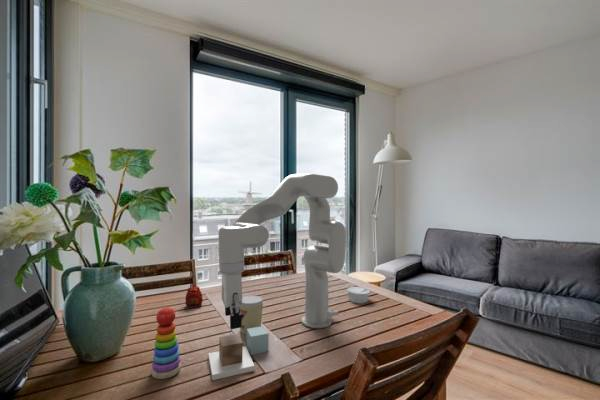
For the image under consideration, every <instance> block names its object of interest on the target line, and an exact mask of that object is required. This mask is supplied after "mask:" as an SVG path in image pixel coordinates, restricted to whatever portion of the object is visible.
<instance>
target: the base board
mask: <svg viewBox="0 0 600 400" xmlns="http://www.w3.org/2000/svg"><path fill="white" fill-rule="evenodd" d="M208 363H209V364H208V365H209V368H210V375H211V381H216V380H219V379H220V380H221V379H223V378H224V379H225V378H228V377H232V376H237V375H241V374H245V373H250V372H254V371H255V364H254V362H253V359H252V357H251V354H250V352H249V350H248V348H247V345H245V346H243V354H242V362H241V363H237V364H232V365H228V366H223V367H222V364H221V361H220V357H219V350H218V351H213V352H208Z"/></svg>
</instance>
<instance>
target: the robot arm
mask: <svg viewBox="0 0 600 400" xmlns="http://www.w3.org/2000/svg"><path fill="white" fill-rule="evenodd" d="M338 190H339V184H338V181H337V180H336V179H335V178H334V177H333V176H329V175H323V174H318V173H317V174H316V173H307V172H306V173H293V174H289V175H288V176H286V177H284V179H283V180H282V181H281V182H280V183H279V184H278V185H277V187H276V188H275V189H274V190H273V191H272V192H271V193H270V194H269V196H267V197H266V198H265V199H263V200H261V201H259V202H258V203H257V204H254V205H253V206H252V207H249V209H247V210H246V211H245V212H243V213H242V214H241V215H240V216H239V217H238V219H236V221H234V223H233V224H232V225H227V226H222V227H220V228H219V230H218V267H219V268H218V272H219V274H221V301H222V304H223V305H224V311H225V312H224V314H225V316H227V317H228V316H229V328H230V329H231V330H234V329H235V330H236V329H240V328H241V326H242V324H241V309H240V306H241V304H242V297H243V285H242V284H243V283H242V281H243V279H242V273H243V272H245V249H254V248H255V249H256V248H260V247H264V246H265V245H266V244H267V242H268V240H269V238H270V237H269V236H270V233H269V230H268V228H266V227H265V226H264V225H262V223H264V222H265V223H266V222H267V221H269V220H274V219H277V218H279V217H282V216H284V215H286V214H287V212H288V211H289V210H290V209H291V207H292V206H293V205H294V204H295V202H297V201H298V199H299V198H301V197H304V199H305V201H306V202H307V204H308V207H309V218H308V219H309V220H308V221H309V223H308V238H309V239H310V241H312V242H314V243H319V244H324V245H325V244H326V245H328V247H327V246H323V245H310V246H308V247H306V249H305V250H304V252H303V256H302V257H303V259H302V260H303V265H304V266H303V267H304V271H305V287H304V288H305V292H304V293H305V294H304V295H305V297H304V301H305V302H304V306H305V307H304V315H303V316H301V320H300V321H301V324H302V325H303V326H306V327H308V328H311V329H324V328H328V327H330V326H331V325H332V322H333V320H332V317H336V316H339V311H338V310H334V311H333V309H329V281H330V280H329V276H328V273H332V274H337V273H340V272H341V271H342V270H343V268H344V266H345V261H346V246H347V244H346V243H347V231H346V228H345V226H344V224H343V223H342V222H341V221H338V220H331V205H330V203H329V202H328V200H327V199H332V198H334V197H335V196H336V195H337V194H338Z"/></svg>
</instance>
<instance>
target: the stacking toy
mask: <svg viewBox="0 0 600 400" xmlns="http://www.w3.org/2000/svg"><path fill="white" fill-rule="evenodd" d="M155 318H156V322H157V324H158V325H157V327H156V335H155V338H154V339H155V341H154V349H153V353H154V354H153V359H152V363H151V367H152V368H151V376H152V377H153V378H154V379H156V380H165V379H168V378H172V377H174V376H175V375H177V374H178V373H179V372H180V371H181V369H182V362H181V357H180V349H179V342H178V337H177V330H175V329H176V324H175V322H174V320H176V312H175V310H174V309H173V308H171V307H163V308H162V309H161V308H160V310H159V311H158V312H157V313H156V317H155Z"/></svg>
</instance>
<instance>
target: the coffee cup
mask: <svg viewBox="0 0 600 400" xmlns="http://www.w3.org/2000/svg"><path fill="white" fill-rule="evenodd" d="M263 303H264V300H263V297H261V296H259V295H252V294H251V295H244V296H242V304H241V306H240V309H241V324H242V326H241V328H239V329H240V333H242V334H243V335H245V336H247V329H249V328H255V327H260V326H262V319H263V318H262V317H263V315H262V314H263V305H264V304H263Z"/></svg>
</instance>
